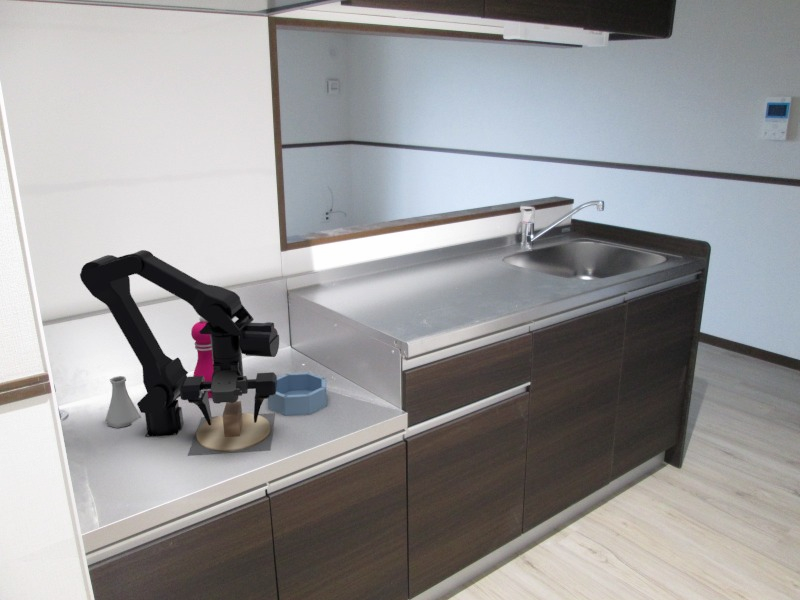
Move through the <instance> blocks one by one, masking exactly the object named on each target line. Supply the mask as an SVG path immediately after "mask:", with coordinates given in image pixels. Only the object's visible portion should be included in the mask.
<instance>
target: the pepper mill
mask: <svg viewBox="0 0 800 600" xmlns="http://www.w3.org/2000/svg"><path fill="white" fill-rule="evenodd" d="M206 323H207V321H206V320H205V319H203V318H202V317H201V316H200V317H199V321H198V322H196V323H194V324H193V325H192V328H191V334H190V335H191V337H192V339H193V341H194V349H195V350H196V351H197V361H196V364H195V368H194V370H193V371H194V372H193V376H204V378H205V382H210V381H212V374H213V358H212V347H211V336H210V334H200V333H199V331H200V330H201V329H202V328H203V327H204V326H205V325H206ZM193 376H192V377H193ZM208 398H209V399H212V394H211V391H208Z"/></svg>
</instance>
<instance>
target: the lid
mask: <svg viewBox="0 0 800 600" xmlns="http://www.w3.org/2000/svg"><path fill="white" fill-rule="evenodd" d="M215 417H216V416H215ZM196 431H197V430H196ZM269 434H270V423H269V421H268V420H267V419H266V418H264V417H262V416H260V415H258V418H257V422H256V423H254V413H251V412H243V409H242V401H241V400H237V401H236V402H234V403H230V402H225V406H224V410H223V413H222V415H219V417H216V418H214V419H212V424H211V425H209V424H208V423H207V422H206V423H204V424H203V425H202V426H201V427H200V428H199V429H198V431H197V441H198V443H199V444H200V445H201V446H202V447H204V448H206V449H209V450H213V451H221V452H228V451H237V450H243V449H246V448H250V447H252V446H255V445H257V444H259V443H260V442H262V441H263V440H265V439H266V438H267V437H268V435H269Z"/></svg>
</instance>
